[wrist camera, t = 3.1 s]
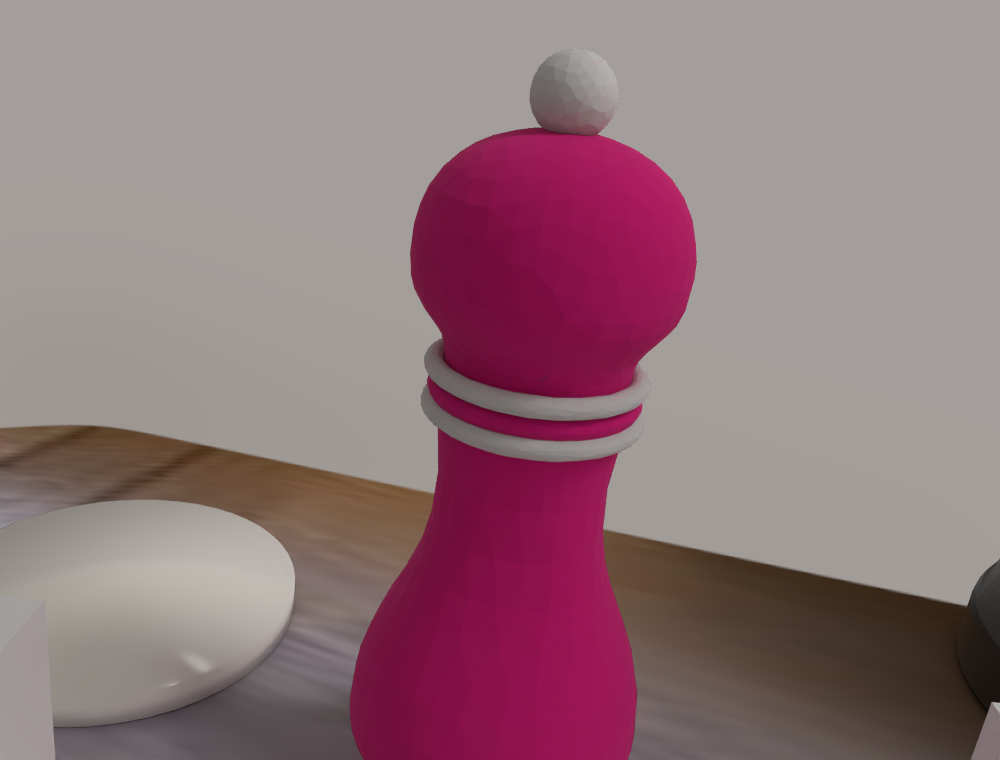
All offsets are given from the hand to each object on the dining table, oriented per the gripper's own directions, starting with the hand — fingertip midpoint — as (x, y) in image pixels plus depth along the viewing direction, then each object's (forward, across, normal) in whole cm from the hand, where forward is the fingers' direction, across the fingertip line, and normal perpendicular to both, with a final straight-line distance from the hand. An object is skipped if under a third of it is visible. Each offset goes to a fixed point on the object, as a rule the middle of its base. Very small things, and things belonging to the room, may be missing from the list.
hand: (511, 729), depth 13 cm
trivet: (+17, -13, -11) cm, 24 cm away
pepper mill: (+9, 0, -11) cm, 14 cm away
